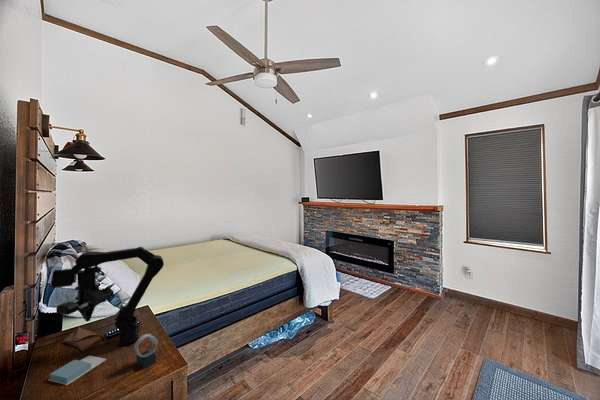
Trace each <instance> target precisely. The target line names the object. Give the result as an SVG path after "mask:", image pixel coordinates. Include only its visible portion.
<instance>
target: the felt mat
mask: <svg viewBox="0 0 600 400" xmlns="http://www.w3.org/2000/svg"><path fill="white" fill-rule="evenodd" d="M106 360H107V358H104V357H99V356H93V355H88V356H86V357H84V358H82V359H80V360H79V361H84V362H88V363H91V369H89V370H88V371H86V372H85V373H83V374H82V375H80V376H79V377H77V378H76V379H74V380H72V381H71V382H69V383H68V384H66V383H62V382H58V381H54V380H50V378H49V379H48V381H49V382H54V383H57V384H61V385H65V386H68V385H69V384H71V383H73V382H74V381H76V380H78V379H79V378H80V377H82V376H83V375H85V374H86V373H88V372H89V371H91V370H92V369H94V368H96V367H97V366H99V365H100V364H102V363H104V362H105V361H106Z"/></svg>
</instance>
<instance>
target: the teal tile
mask: <svg viewBox="0 0 600 400" xmlns="http://www.w3.org/2000/svg"><path fill="white" fill-rule="evenodd" d="M89 369H91V363H88V362H84V361H80V360H78V359H73V360H72V361H70V362H68V363H66V364H65V365H63V366H61V367H59V368H58V369H55V370H54V371H52V372H51V373H49V379H50V380H54V381H58V382H62V383H66V384H68V383H69V382H71V381H72V380H74V379H76V378H77V377H79V376H80V375H82V374H83V373H85V372H86V371H88V370H89ZM91 370H92V369H91ZM88 372H89V371H88ZM86 373H87V372H86ZM86 373H85V374H86ZM83 375H84V374H83ZM83 375H82V376H83ZM80 377H81V376H80ZM80 377H79V378H80ZM77 379H78V378H77ZM77 379H76V380H77ZM74 381H75V380H74ZM71 383H72V382H71ZM68 385H69V384H68Z"/></svg>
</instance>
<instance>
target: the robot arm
mask: <svg viewBox="0 0 600 400" xmlns="http://www.w3.org/2000/svg"><path fill="white" fill-rule="evenodd" d="M135 258H136V259H137V258H138V259H139V260H140V261H142V262H143V263H145V264H146V268H145V271H144V274H143V276H142V277H141V279H140V281H139V282H138V284H137V286H136V288H135V289H134V291H133V293H132V294H131V297H130V298H129V300H128V301H127V303H126V304H125V305H120V307H119V309H118V311H117V312H116V313H115V316H114V321H115V322H114V326H115V328H116V329H118V330H120V331H119V338H118V339H119V340H118V342H117V346H123V347H127V348H128V347H131V346H132V345H135V343H136V341H137V340H138V339H139V338H140V337H141V336H140V337H139V324H138V317H136V316H135V311H136V309H137V307H138V305H139V304H140V301H141V299H142V298H143V296H144V294H145V293H146V290H147V289H148V287H149V285H150V284H151V282H152V280H153V279H154V278H155V277H156V276H157V275H158V273H160V271H161V270H162V269H163V267H164V265H165V263H164V259H163V257H162V256H161V255H158V254H154V253H153V252H151V251H149V250H147V249H145V248H144V247H143V246H138V247H134V248H133V247H132V248H125V249H120V250H119V249H118V250H112V251H84V252H82V253H81V254H79V256H78V257H77V259H75V265H72V267H71V268H66V269H55V270H53V271H52V277H51V281H50V285H51V288H52V289H57V288H65V287H72V286H73V284H74V283H76V282H77V286H76V287H75V290H76V291H77V296H75V300H76V301H75V302H71V301H66V302H64V303H62V304H59V305H57V306H56V308H55V309H56V310H55V311H56V314H61V315H71V314H74V313H76V312H77V311H78V312H79V313H80V315H81V317H82V318H83V320H84V321H85V322H90V321H91V319H92V315H93V313H94V310H95V308H96V307H97V306H98V305H101V304H103V303H106V302H107V299H109V298H112V297H114V296H115V292H114V290H113V289H112V288H110V287H109V286H108V287H106V288H105V287H104V288H102V289H100V285H99V284H97V283H96V282H97V280H96V277H97V276H96V275H97V274H96V273H100V272H101V270H102V267H99V265H102V264H105V263H109V262H110V263H111V262H115V261H123V260H127V259H128V260H129V259H135Z"/></svg>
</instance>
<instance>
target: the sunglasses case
mask: <svg viewBox="0 0 600 400" xmlns="http://www.w3.org/2000/svg"><path fill="white" fill-rule="evenodd" d="M105 341H106V339H105V337H104V336H103V335H101V334H97V333H96V332H93V331H91V330H88V329H84V328H82V327H80V326H79V327H78V328H77V329H76V330H75V331H73V332H72V333H71V334H69V335H68V336H67V337H66V338H64V339H63V340H62V341H60V343H61V344H65V345H68V346H72V347H74V348H76V349H78V350H79V351H82V352H84V351H86V350H89V349H91V348H93V347H96V346H98V345H99V344H102V343H104V342H105Z"/></svg>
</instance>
